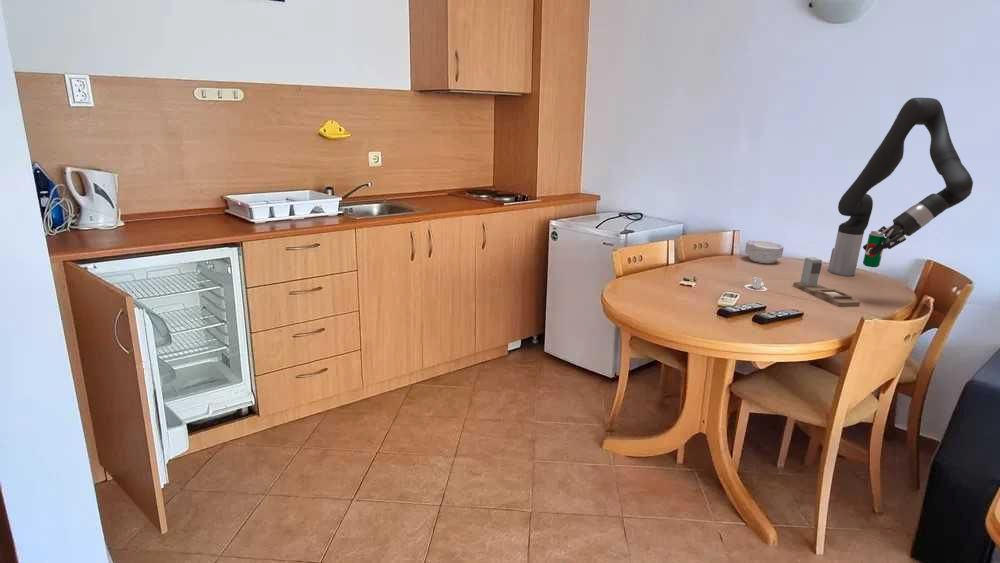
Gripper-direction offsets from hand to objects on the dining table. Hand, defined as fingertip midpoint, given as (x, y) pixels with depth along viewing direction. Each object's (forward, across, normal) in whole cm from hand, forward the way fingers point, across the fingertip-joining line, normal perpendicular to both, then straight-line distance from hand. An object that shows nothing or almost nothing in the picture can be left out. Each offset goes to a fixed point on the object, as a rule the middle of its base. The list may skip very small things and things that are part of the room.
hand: (868, 251), depth 208 cm
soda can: (+3, 0, +5) cm, 6 cm away
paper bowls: (+27, -51, -1) cm, 57 cm away
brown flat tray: (+20, -2, +5) cm, 21 cm away
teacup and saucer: (+35, -5, -9) cm, 36 cm away
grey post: (+21, -10, +2) cm, 23 cm away
